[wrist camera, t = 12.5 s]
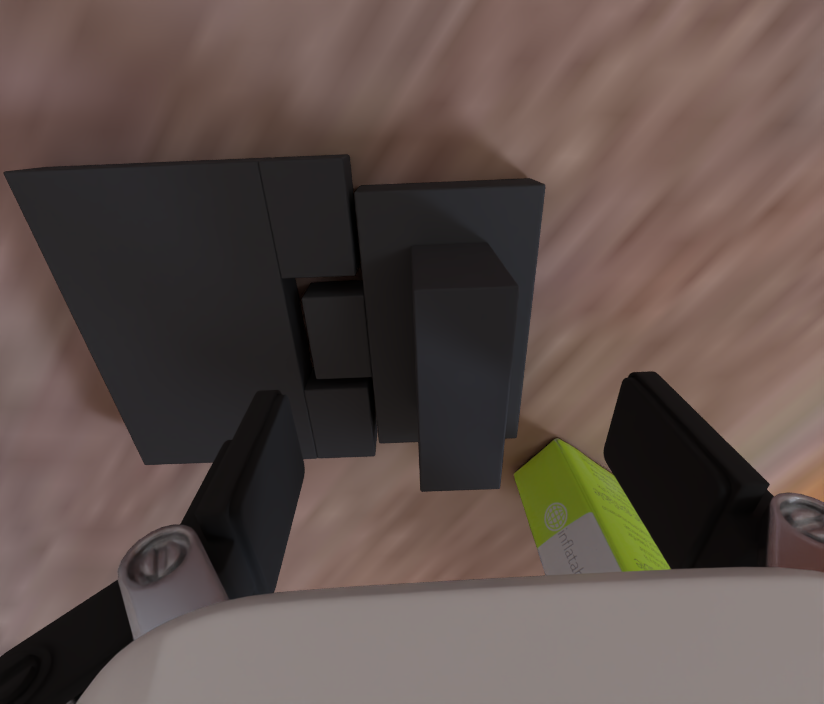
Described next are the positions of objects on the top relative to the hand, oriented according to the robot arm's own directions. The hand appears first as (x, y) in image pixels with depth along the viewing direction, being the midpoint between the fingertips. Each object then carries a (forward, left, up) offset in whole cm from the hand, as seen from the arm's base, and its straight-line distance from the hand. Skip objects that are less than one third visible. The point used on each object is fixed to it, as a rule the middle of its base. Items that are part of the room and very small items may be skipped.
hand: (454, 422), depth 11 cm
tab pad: (+1, -1, -9) cm, 9 cm away
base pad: (0, -9, -9) cm, 13 cm away
